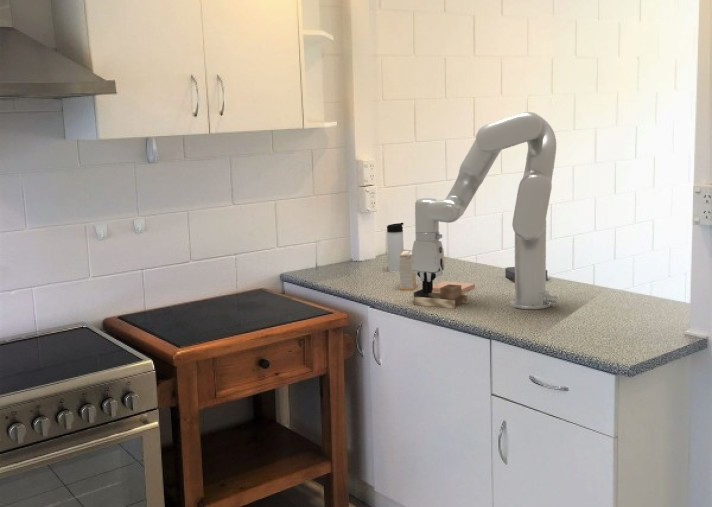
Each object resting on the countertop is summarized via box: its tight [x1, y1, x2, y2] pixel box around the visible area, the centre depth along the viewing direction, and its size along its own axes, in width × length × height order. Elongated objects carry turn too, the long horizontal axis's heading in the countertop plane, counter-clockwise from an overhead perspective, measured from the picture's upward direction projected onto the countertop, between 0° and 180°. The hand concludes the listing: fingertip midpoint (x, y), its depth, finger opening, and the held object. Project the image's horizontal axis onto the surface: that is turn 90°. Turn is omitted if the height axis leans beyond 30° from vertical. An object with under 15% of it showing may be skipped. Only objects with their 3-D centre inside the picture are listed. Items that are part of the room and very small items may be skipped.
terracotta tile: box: [432, 280, 476, 295], centre depth 277 cm, size 12×12×2 cm
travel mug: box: [386, 222, 405, 273], centre depth 312 cm, size 6×7×20 cm
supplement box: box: [399, 250, 417, 291], centre depth 283 cm, size 8×5×13 cm, turn 168°
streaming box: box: [504, 266, 548, 284], centre depth 289 cm, size 13×13×4 cm
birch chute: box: [413, 289, 468, 309], centre depth 258 cm, size 15×9×4 cm, turn 56°
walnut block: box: [440, 284, 463, 307], centre depth 256 cm, size 4×6×6 cm
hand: (427, 292), depth 261 cm, fingers closed
